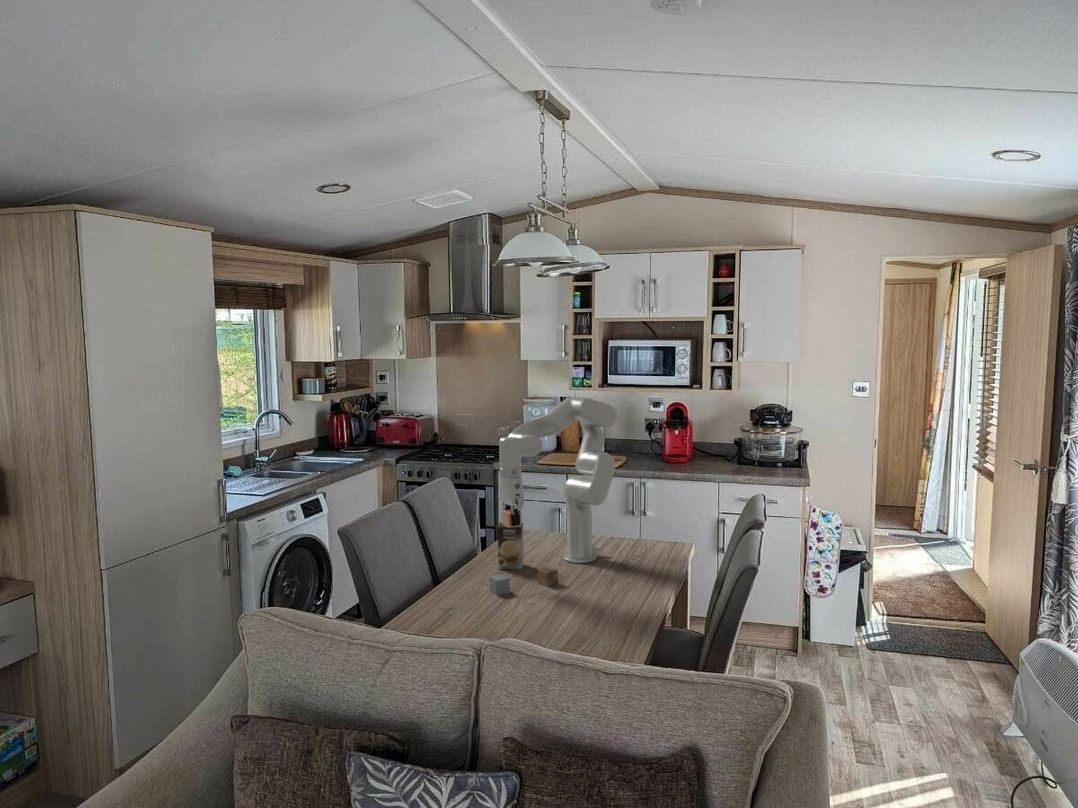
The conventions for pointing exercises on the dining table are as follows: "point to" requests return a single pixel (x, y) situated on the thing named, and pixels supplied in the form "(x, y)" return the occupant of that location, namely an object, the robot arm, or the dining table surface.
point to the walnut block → (547, 576)
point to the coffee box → (510, 547)
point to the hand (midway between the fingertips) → (511, 523)
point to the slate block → (499, 584)
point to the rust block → (508, 518)
